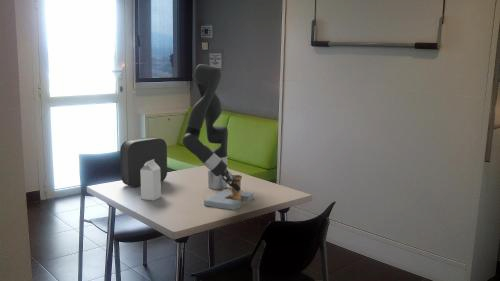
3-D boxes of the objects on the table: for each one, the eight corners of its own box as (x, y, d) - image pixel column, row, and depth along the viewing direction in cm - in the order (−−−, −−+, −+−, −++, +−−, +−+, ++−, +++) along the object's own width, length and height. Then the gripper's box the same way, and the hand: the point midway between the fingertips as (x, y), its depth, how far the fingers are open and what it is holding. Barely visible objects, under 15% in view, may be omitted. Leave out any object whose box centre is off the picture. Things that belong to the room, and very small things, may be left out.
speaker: (128, 189, 252) (127, 142, 248) (119, 186, 258) (118, 140, 254) (167, 181, 270) (166, 137, 266) (158, 178, 276) (157, 135, 272)
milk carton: (161, 197, 239) (160, 159, 236) (153, 201, 233) (152, 162, 230) (148, 195, 242) (147, 158, 238) (141, 199, 235) (140, 161, 232)
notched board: (204, 205, 227) (204, 200, 227) (225, 193, 247) (225, 188, 246) (234, 210, 221) (234, 204, 220) (253, 197, 240) (253, 192, 240)
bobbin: (228, 203, 231) (228, 176, 229) (233, 200, 236) (233, 174, 234) (238, 204, 229) (238, 178, 226) (243, 201, 234) (243, 175, 231)
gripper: (220, 162, 221) (245, 186, 224) (220, 156, 235) (243, 178, 238) (209, 173, 222) (233, 197, 224) (210, 166, 236) (233, 189, 238)
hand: (238, 187), depth 231 cm, fingers open, 8 cm apart
